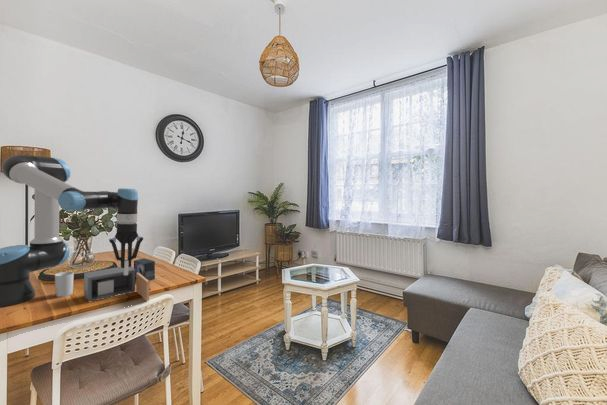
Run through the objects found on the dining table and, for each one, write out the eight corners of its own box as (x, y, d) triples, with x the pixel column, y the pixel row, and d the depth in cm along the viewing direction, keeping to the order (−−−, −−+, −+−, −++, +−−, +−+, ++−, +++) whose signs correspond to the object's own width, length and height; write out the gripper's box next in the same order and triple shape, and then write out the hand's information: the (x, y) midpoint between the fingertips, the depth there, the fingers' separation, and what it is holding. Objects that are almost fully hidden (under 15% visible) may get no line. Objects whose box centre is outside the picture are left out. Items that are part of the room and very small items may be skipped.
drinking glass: (74, 294, 121) (74, 274, 121) (54, 298, 117) (54, 276, 116) (73, 290, 126) (73, 270, 126) (54, 294, 122) (54, 273, 121)
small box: (132, 278, 145) (132, 260, 145) (144, 275, 151) (144, 257, 150) (143, 282, 140) (143, 263, 140) (155, 279, 146) (155, 260, 146)
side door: (151, 299, 118) (151, 280, 118) (146, 301, 117) (146, 281, 116) (140, 289, 129) (141, 272, 129) (136, 290, 128) (136, 272, 127)
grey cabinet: (88, 302, 114) (88, 278, 114) (84, 295, 121) (84, 272, 120) (135, 291, 128) (135, 269, 127) (129, 286, 134) (129, 265, 134)
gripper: (110, 224, 108) (108, 279, 109) (145, 223, 117) (144, 274, 118) (107, 222, 114) (106, 274, 115) (142, 221, 123) (140, 269, 124)
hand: (125, 274), depth 117 cm, fingers closed
